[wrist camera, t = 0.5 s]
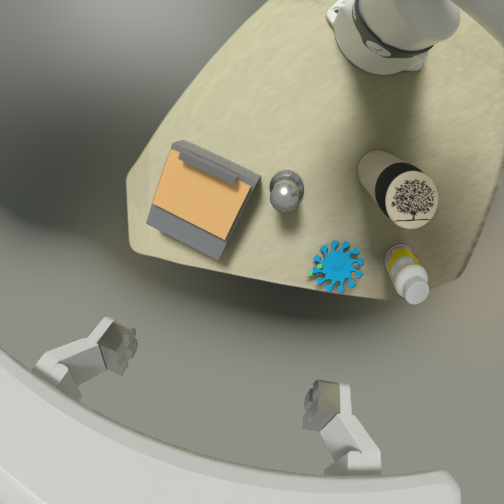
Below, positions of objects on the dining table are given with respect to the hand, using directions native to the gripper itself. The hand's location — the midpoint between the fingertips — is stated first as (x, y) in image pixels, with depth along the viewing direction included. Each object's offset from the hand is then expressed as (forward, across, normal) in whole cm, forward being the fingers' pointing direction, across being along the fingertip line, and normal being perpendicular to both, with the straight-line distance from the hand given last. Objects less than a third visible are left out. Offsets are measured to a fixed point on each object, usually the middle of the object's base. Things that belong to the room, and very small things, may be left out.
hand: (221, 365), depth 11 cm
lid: (+37, +13, +6) cm, 40 cm away
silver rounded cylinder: (+42, -1, +3) cm, 42 cm away
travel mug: (+42, -16, -4) cm, 46 cm away
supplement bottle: (+42, -27, +11) cm, 52 cm away
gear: (+42, -14, +15) cm, 47 cm away
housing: (+42, +14, +9) cm, 45 cm away
